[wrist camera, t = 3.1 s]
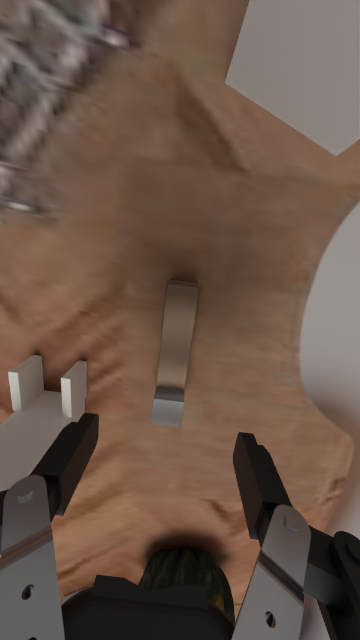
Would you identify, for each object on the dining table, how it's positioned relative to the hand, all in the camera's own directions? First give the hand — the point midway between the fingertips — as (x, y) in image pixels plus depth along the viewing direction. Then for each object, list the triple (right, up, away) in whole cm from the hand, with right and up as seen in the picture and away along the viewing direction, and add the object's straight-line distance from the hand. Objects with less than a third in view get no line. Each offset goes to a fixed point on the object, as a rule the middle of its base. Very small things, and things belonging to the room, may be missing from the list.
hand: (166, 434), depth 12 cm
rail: (0, +4, +13) cm, 14 cm away
